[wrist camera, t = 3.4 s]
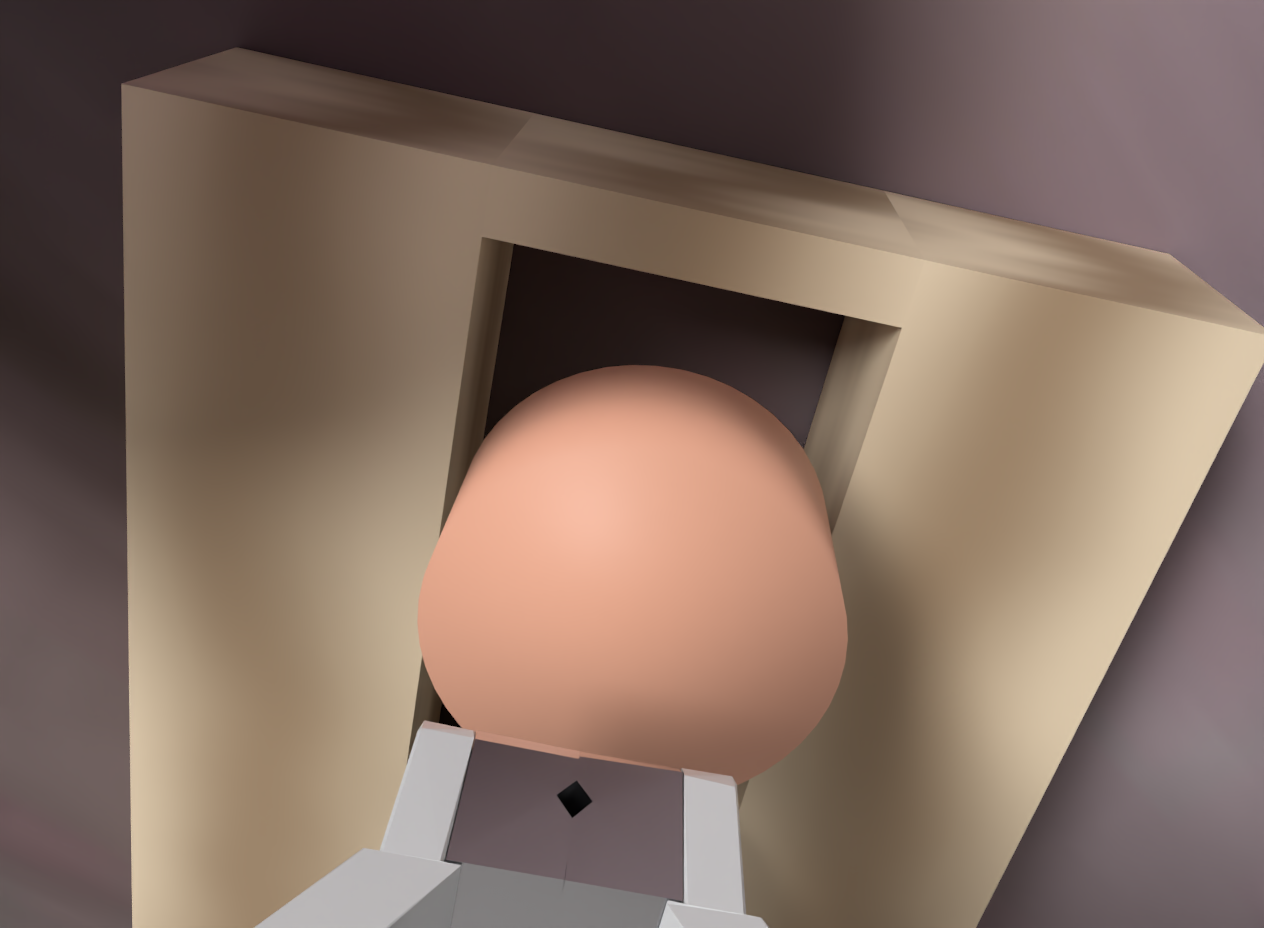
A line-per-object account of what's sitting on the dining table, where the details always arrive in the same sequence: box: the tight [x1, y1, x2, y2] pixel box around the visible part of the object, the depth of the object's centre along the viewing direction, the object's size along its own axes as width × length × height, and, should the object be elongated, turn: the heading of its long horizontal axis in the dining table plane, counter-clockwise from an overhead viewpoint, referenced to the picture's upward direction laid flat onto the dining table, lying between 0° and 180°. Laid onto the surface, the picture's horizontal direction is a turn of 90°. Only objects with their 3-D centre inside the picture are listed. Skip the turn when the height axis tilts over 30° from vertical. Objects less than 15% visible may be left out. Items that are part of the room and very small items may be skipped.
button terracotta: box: [417, 365, 848, 785], centre depth 15 cm, size 5×5×6 cm
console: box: [121, 47, 1264, 928], centre depth 22 cm, size 16×22×4 cm
